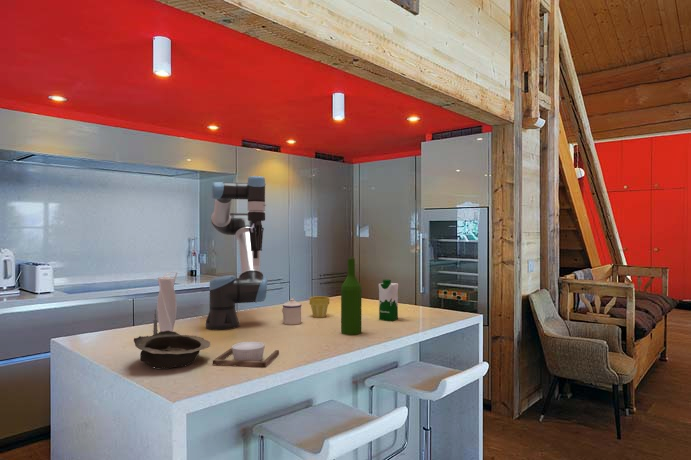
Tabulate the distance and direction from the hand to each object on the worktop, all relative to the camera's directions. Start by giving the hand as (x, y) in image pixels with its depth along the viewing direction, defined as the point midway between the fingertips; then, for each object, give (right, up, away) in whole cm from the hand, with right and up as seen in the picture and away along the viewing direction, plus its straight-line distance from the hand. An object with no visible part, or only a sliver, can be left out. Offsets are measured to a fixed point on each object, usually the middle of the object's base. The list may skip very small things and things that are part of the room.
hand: (256, 265), depth 195 cm
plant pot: (+25, -30, +37) cm, 54 cm away
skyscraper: (-35, -30, -11) cm, 47 cm away
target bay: (+5, -30, -39) cm, 49 cm away
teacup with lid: (+12, -30, +22) cm, 39 cm away
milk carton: (+61, -30, +29) cm, 73 cm away
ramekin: (+5, -30, -40) cm, 50 cm away
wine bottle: (+41, -30, 0) cm, 51 cm away
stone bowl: (-20, -30, -43) cm, 56 cm away
